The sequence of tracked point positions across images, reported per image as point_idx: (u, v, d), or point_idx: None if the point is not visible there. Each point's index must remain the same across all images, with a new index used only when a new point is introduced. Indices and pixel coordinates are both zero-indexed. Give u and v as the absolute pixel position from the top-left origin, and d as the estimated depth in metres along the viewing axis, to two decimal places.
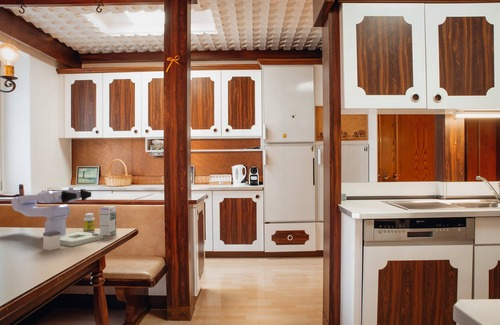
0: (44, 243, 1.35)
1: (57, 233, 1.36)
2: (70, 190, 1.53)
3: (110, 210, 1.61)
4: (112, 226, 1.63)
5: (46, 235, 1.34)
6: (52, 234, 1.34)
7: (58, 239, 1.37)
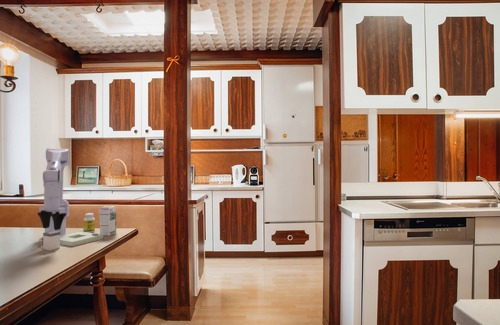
0: (44, 243, 1.35)
1: (57, 233, 1.36)
2: (45, 209, 1.34)
3: (110, 210, 1.61)
4: (112, 226, 1.63)
5: (46, 235, 1.34)
6: (52, 234, 1.34)
7: (58, 239, 1.37)
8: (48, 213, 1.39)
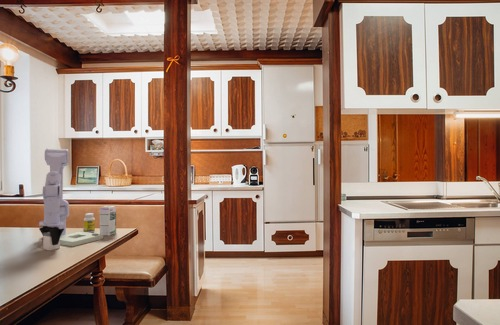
0: (44, 243, 1.35)
1: None
2: None
3: (110, 210, 1.61)
4: (112, 226, 1.63)
5: (46, 235, 1.34)
6: None
7: None
8: (50, 228, 1.38)
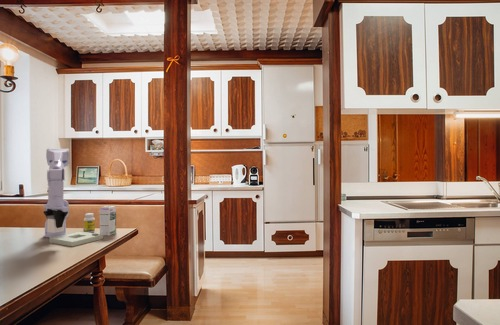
0: (48, 226, 1.37)
1: None
2: None
3: (110, 210, 1.61)
4: (112, 226, 1.63)
5: (50, 218, 1.36)
6: None
7: None
8: (54, 212, 1.40)
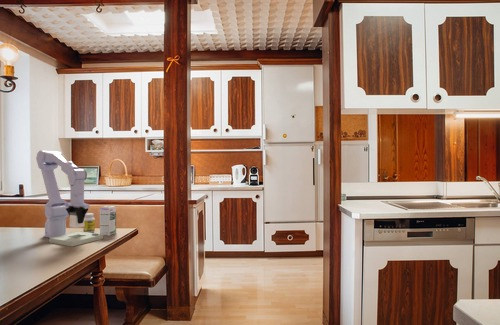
0: (70, 222, 1.49)
1: None
2: (71, 205, 1.48)
3: (110, 210, 1.61)
4: (112, 226, 1.63)
5: (72, 214, 1.48)
6: None
7: None
8: (75, 209, 1.52)
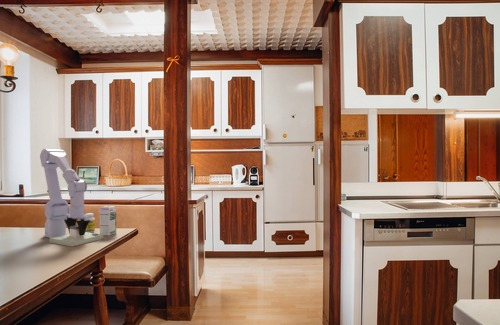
0: (70, 236, 1.49)
1: None
2: None
3: (110, 210, 1.61)
4: (112, 226, 1.63)
5: (72, 228, 1.48)
6: (78, 227, 1.48)
7: None
8: (73, 220, 1.52)
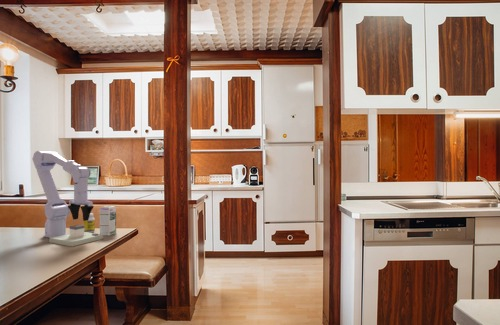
0: (70, 236, 1.49)
1: (82, 226, 1.50)
2: (75, 203, 1.50)
3: (110, 210, 1.61)
4: (112, 226, 1.63)
5: (72, 228, 1.48)
6: (78, 227, 1.48)
7: (83, 232, 1.51)
8: (77, 206, 1.55)
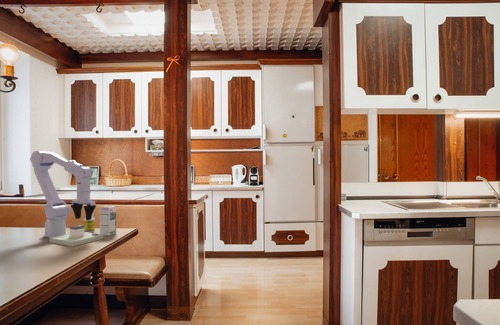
0: (70, 236, 1.49)
1: (82, 226, 1.50)
2: (77, 202, 1.52)
3: (110, 210, 1.61)
4: (112, 226, 1.63)
5: (72, 228, 1.48)
6: (78, 227, 1.48)
7: (83, 232, 1.51)
8: (79, 205, 1.56)
